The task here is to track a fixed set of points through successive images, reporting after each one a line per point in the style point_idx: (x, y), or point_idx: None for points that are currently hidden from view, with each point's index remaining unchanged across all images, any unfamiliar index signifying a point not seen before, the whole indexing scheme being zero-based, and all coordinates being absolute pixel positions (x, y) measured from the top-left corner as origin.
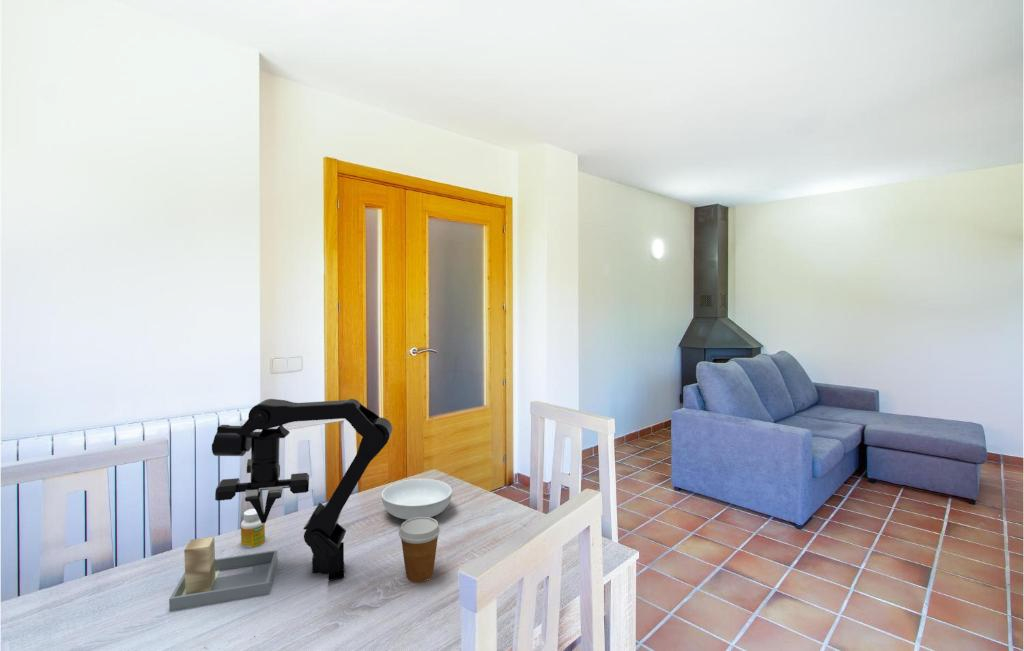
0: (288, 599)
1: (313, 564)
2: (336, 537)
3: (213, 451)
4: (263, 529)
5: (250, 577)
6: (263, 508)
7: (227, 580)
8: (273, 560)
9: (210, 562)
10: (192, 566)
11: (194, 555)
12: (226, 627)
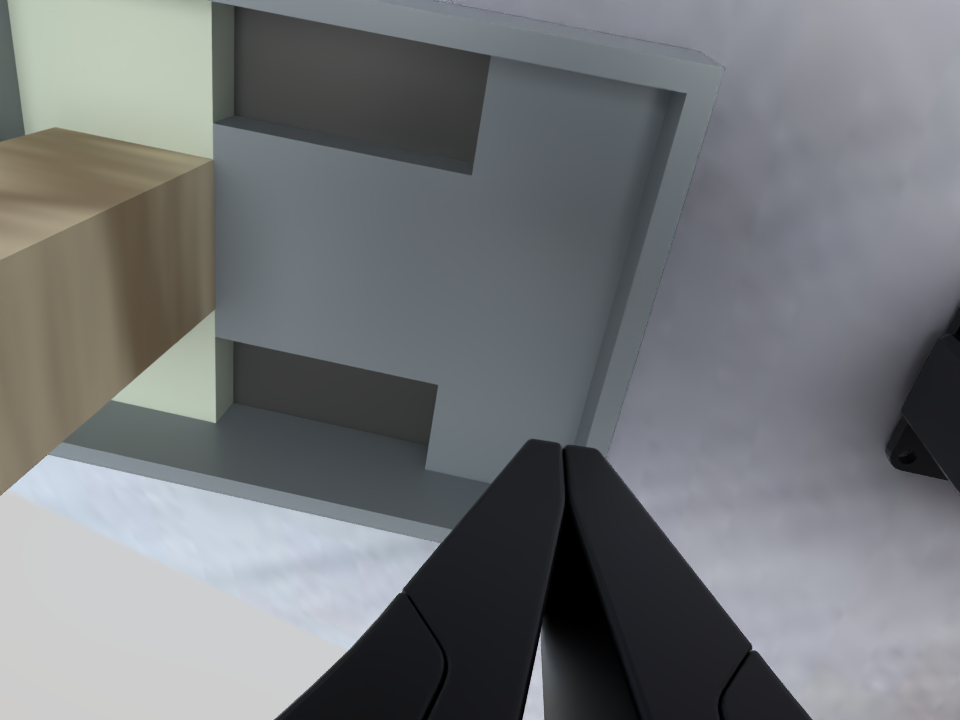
0: (681, 526)
1: (946, 476)
2: None
3: None
4: None
5: (466, 256)
6: (545, 603)
7: (303, 210)
8: (650, 282)
9: (90, 379)
10: None
11: None
12: (368, 581)
